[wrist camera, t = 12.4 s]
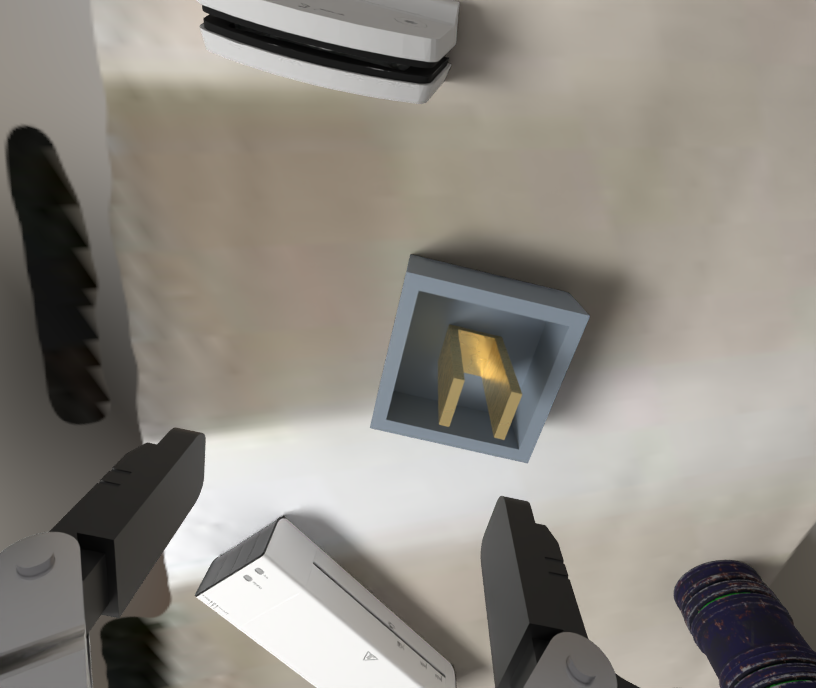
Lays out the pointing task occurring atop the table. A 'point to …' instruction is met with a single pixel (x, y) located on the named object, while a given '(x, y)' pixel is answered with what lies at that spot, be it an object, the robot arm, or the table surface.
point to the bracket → (480, 359)
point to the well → (470, 426)
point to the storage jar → (743, 628)
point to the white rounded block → (340, 42)
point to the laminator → (317, 615)
